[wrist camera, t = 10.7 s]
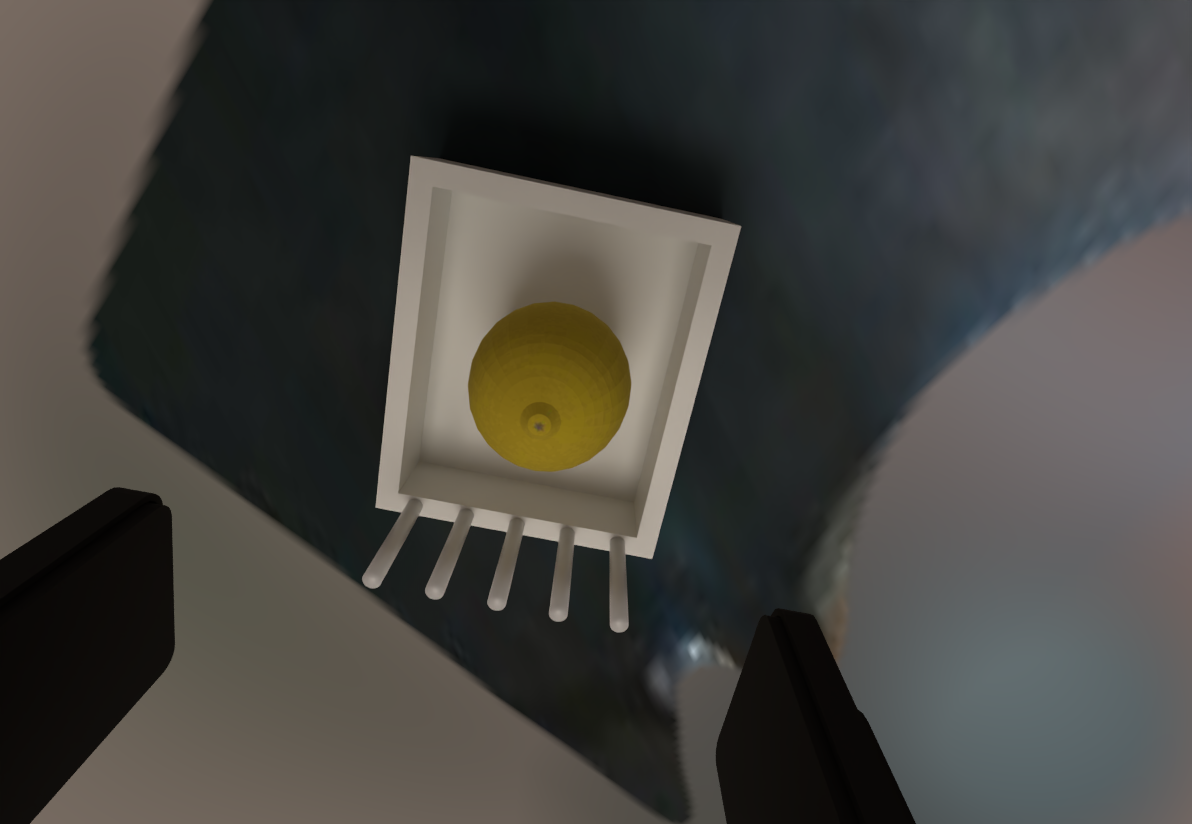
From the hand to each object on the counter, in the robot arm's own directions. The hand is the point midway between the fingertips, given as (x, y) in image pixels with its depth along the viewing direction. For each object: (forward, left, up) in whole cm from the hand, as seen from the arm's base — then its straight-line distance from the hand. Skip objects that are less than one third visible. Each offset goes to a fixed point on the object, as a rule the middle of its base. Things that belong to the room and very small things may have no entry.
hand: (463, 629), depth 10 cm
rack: (0, 0, -18) cm, 18 cm away
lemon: (0, 0, -17) cm, 17 cm away
